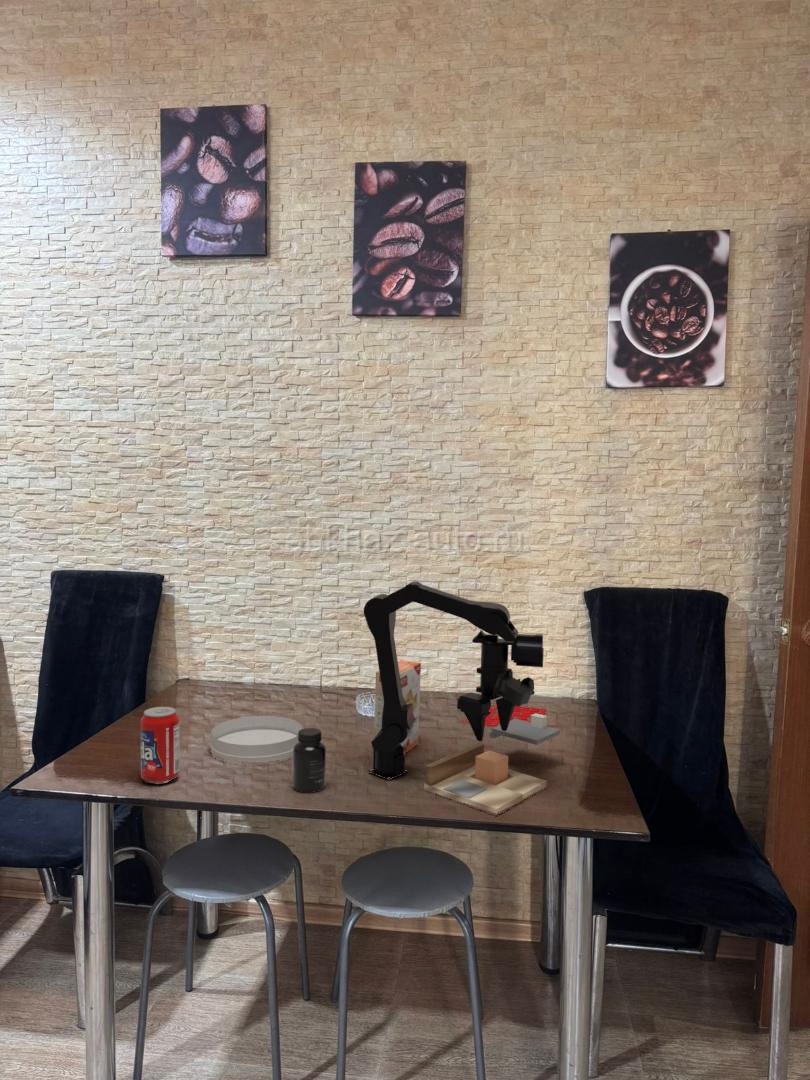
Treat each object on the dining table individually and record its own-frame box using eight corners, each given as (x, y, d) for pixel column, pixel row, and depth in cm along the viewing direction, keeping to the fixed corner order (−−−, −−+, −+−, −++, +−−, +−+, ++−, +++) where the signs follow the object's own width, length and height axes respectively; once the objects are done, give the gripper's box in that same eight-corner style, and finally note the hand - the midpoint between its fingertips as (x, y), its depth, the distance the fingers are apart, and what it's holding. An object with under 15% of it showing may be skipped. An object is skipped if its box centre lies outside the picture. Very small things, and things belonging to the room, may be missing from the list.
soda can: (183, 782, 160) (183, 713, 159) (145, 789, 156) (144, 718, 155) (174, 770, 167) (174, 703, 165) (137, 776, 163) (137, 708, 162)
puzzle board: (424, 790, 158) (424, 765, 157) (477, 766, 172) (477, 742, 172) (496, 816, 146) (497, 788, 146) (546, 787, 160) (547, 762, 160)
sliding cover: (489, 737, 175) (490, 717, 174) (513, 727, 182) (513, 707, 182) (537, 750, 166) (537, 729, 166) (559, 739, 174) (560, 719, 174)
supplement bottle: (286, 786, 159) (286, 730, 158) (312, 778, 164) (312, 723, 163) (306, 796, 154) (306, 738, 153) (332, 787, 159) (332, 731, 158)
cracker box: (395, 764, 172) (397, 674, 171) (372, 760, 175) (373, 671, 173) (420, 745, 185) (422, 661, 184) (398, 741, 188) (399, 658, 186)
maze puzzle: (461, 724, 203) (461, 721, 203) (477, 704, 222) (477, 702, 222) (535, 733, 197) (535, 730, 197) (545, 711, 216) (546, 709, 216)
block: (475, 783, 162) (475, 756, 162) (488, 777, 166) (489, 750, 166) (494, 790, 159) (495, 762, 158) (507, 783, 163) (508, 756, 162)
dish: (285, 771, 168) (285, 749, 168) (193, 762, 172) (193, 740, 172) (316, 738, 190) (316, 719, 189) (233, 731, 194) (234, 712, 194)
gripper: (501, 678, 148) (499, 756, 149) (550, 663, 162) (547, 734, 164) (456, 668, 155) (454, 743, 157) (506, 654, 170) (504, 722, 171)
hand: (492, 735), depth 162 cm, fingers open, 9 cm apart
